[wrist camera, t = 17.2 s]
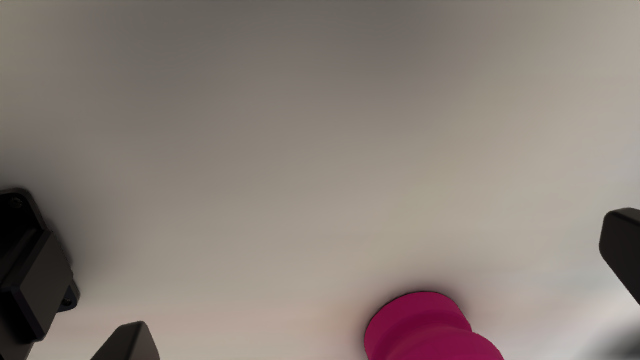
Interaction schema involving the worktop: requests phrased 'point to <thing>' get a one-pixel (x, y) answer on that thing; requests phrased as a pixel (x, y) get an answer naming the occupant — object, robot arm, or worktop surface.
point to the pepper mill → (425, 331)
